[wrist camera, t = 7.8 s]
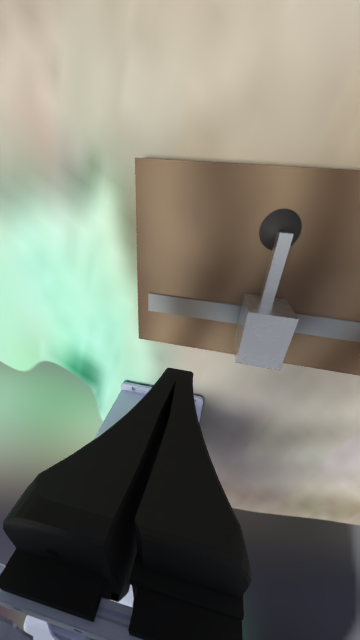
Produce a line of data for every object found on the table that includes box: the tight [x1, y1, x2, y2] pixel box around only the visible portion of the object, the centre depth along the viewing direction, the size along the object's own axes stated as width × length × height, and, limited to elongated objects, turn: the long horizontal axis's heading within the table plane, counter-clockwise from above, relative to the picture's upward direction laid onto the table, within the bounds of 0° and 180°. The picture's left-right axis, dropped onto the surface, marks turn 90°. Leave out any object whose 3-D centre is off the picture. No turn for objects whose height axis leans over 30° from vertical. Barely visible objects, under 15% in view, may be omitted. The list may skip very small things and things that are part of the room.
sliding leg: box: [234, 231, 299, 370], centre depth 15 cm, size 3×8×3 cm, turn 176°
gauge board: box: [135, 158, 360, 375], centre depth 15 cm, size 24×14×6 cm, turn 86°
